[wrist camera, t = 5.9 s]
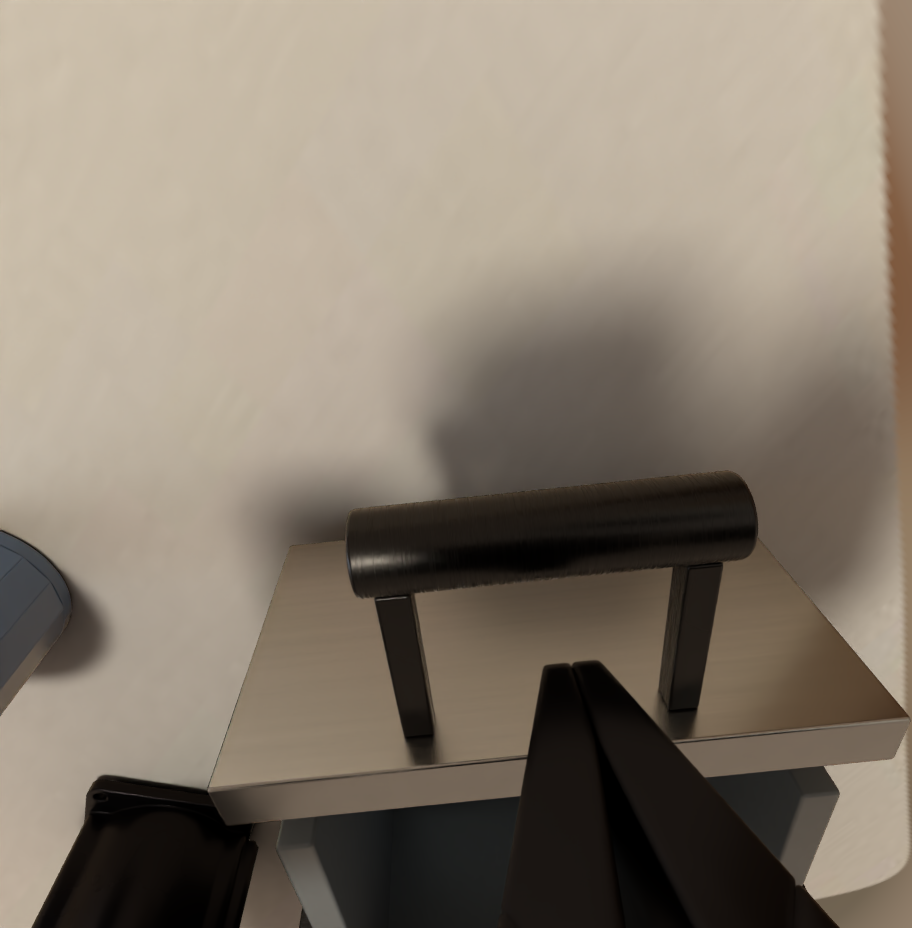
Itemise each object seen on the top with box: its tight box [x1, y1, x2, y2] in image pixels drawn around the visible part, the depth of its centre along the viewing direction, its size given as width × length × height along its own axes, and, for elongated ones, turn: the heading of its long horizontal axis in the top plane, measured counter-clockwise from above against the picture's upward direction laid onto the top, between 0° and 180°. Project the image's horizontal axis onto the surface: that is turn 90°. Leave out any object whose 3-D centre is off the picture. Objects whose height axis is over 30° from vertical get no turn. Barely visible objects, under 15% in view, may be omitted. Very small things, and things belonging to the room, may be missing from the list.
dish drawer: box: [208, 470, 911, 928], centre depth 15 cm, size 17×13×7 cm
